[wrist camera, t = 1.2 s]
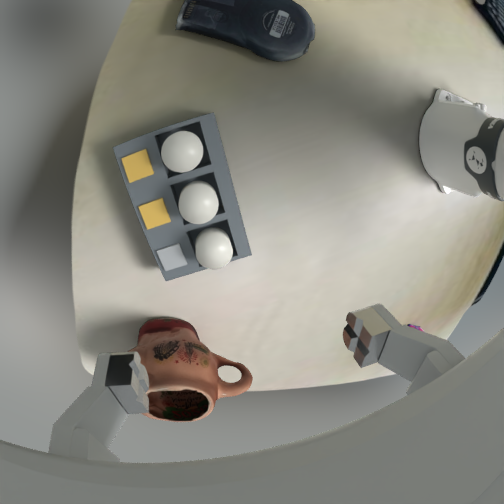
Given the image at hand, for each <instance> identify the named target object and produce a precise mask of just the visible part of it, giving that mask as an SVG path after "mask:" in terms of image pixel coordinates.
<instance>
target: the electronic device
mask: <svg viewBox="0 0 504 504" xmlns="http://www.w3.org/2000/svg"><path fill="white" fill-rule="evenodd" d="M176 30H185V31H189V32H194V33H197V34H202V35H205V36H209V37H211V38H216V39H219V40H222V41H226V42H229V43H232V44H235V45H238V46H241V47H243V48H246V49H249V50H251V51H252V52H254V53H255V54H256V55H259V56H261V57H263V58H266V59H269V60H273V61H289V60H293V59H296V58H299V57H300V56H302V55H304V54H305V52H307V51H308V48H309V44H310V41H312V40H314V35H315V25H314V23H313V22H312V19H311V17H310V16H309V14H308V13H307V11H306V10H305V9H304V8H303V7H302V6H301V5H299V4H297V3H296V2H294V1H292V0H185V1H184V3H183V5H182V7H181V10H180V13H179V15H178V19H177V24H176Z"/></svg>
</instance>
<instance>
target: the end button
mask: <svg viewBox="0 0 504 504" xmlns="http://www.w3.org/2000/svg"><path fill="white" fill-rule="evenodd" d="M202 156H203V146H202V143H201V141H200V139H199V138H198V136H197V135H195V134H194V133H192V132H189V131H179V132H176V133H174V134H172V135H170V136H169V137H168V138H167V139H166V140H165V142H164V143H163V146H162V149H161V157H162V160H163V162H164V164H165V165H166V166H167V167H168V168H169V169H170V170H172V171H175V172H180V173H183V172H188V171H191V170H192V169H194V168H195V167H196V166H197V165H198V164H199V163H200V161H201V159H202Z"/></svg>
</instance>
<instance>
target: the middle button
mask: <svg viewBox="0 0 504 504" xmlns="http://www.w3.org/2000/svg"><path fill="white" fill-rule="evenodd" d="M218 206H219V203H218V198H217V195H216V192H215V190H214V188H213V187H212V186H211V185H210V184H209V183H207V182H204V181H193V182H190V183H188V184H187V185H186V186H185V187H184V188H183V189H182V191H181V194H180V198H179V211H180V214H181V215H182V217H183V218H184V219H185V220H186V221H188V222H190V223H193V224H203V223H206V222H208V221H210V220H211V219H212V218H213V217H214V216H215V215H216V213H217V211H218Z"/></svg>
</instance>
